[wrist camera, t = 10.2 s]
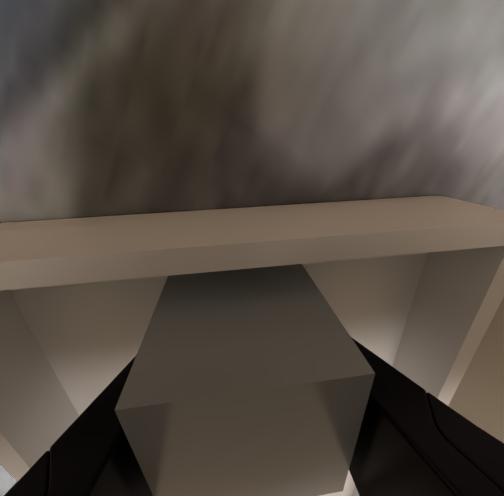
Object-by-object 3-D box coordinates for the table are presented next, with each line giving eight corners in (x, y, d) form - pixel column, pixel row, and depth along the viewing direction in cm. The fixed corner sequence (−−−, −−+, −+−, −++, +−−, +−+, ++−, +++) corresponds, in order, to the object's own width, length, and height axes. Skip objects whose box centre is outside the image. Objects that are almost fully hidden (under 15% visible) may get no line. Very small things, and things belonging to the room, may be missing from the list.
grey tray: (146, 528, 15) (131, 605, 13) (-21, 224, 7) (-175, 275, 4) (350, 489, 17) (373, 552, 14) (439, 195, 8) (543, 219, 5)
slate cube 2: (189, 364, 9) (166, 524, 5) (169, 271, 7) (114, 410, 3) (293, 351, 9) (343, 490, 5) (299, 260, 7) (375, 373, 4)
